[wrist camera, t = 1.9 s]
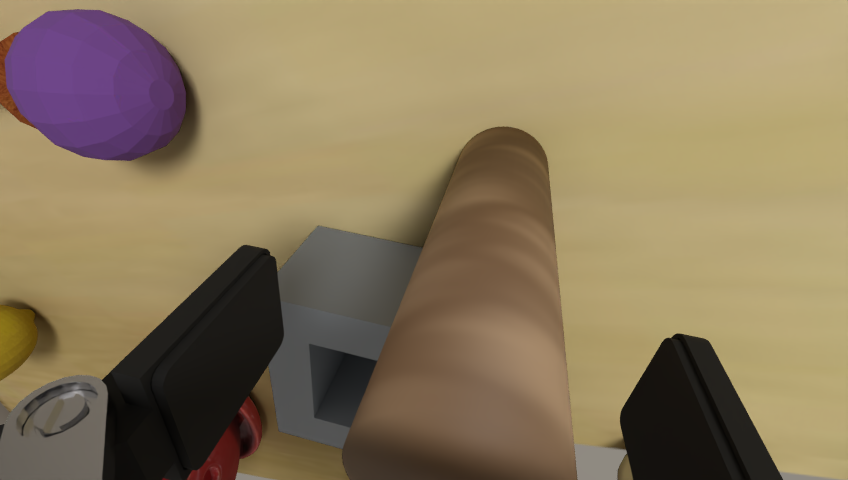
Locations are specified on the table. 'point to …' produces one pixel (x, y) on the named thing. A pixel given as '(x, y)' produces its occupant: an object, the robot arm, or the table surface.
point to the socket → (334, 328)
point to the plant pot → (232, 446)
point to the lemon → (15, 338)
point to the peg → (476, 336)
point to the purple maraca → (92, 84)
